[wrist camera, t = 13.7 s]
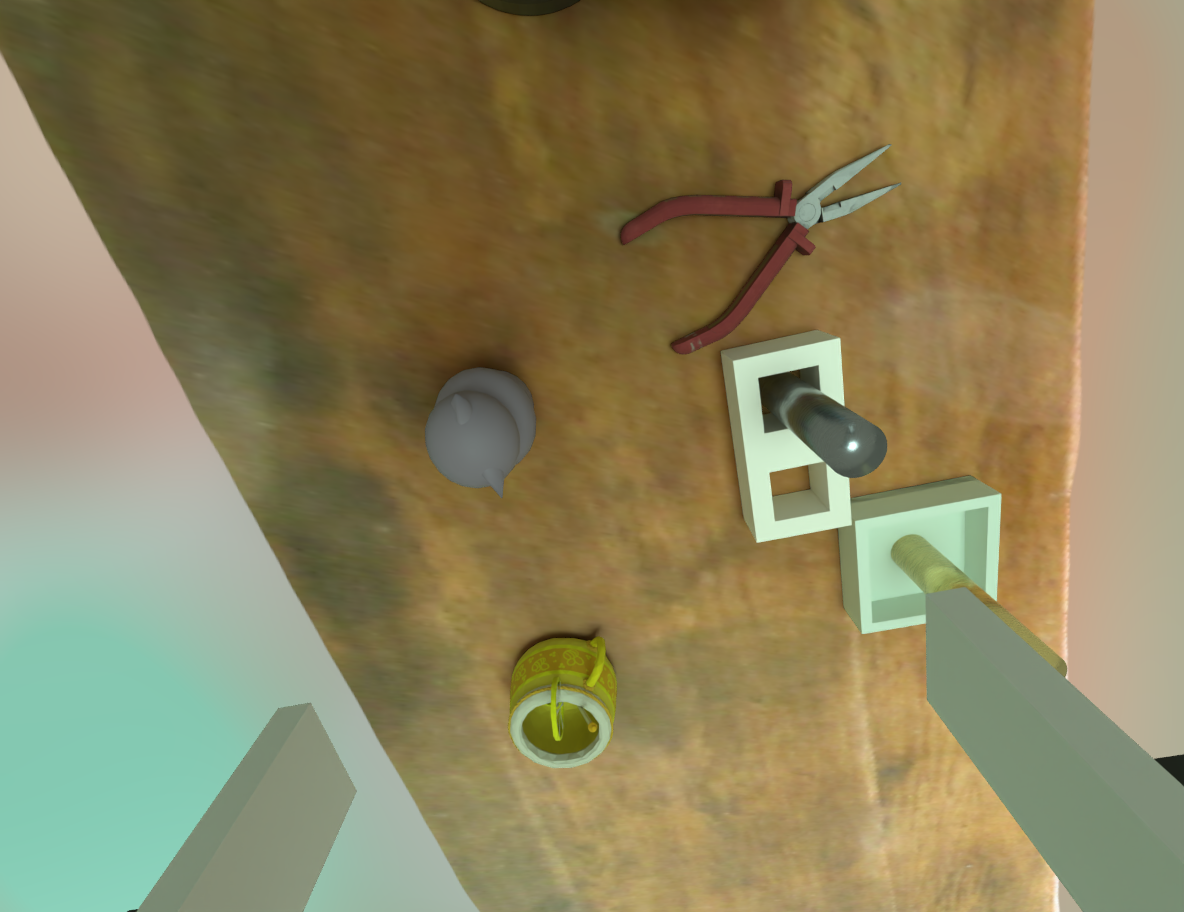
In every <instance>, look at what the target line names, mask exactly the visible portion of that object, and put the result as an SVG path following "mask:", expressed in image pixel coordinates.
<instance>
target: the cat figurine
mask: <svg viewBox="0 0 1184 912" xmlns="http://www.w3.org/2000/svg"><path fill="white" fill-rule="evenodd" d="M533 408H534V403H533V399H532V395H531V393H530V391H529V389H528V388H527V386H526V385H525V383H524V382H522V381H521V380H520V379H519V378H518V377H517V376H515V375H513V374H510V373H508V372H506V371H499V370H496V369H489V368H482V367H478V368H473V369H467V370H463V371H461V372H460V373H458V374H456V375H455V376H453V377H452V378H450V379H449V380H448V381H447V383H446V384H445V385H444V386H443V388H442V389H441V390H440V392H439V394H438V398H437V401H436V404H435V407H434V409H433V410H432V412H431V413H430V415H429V418H428V421H427V424H426V428H425V440H426V447H427V450H428V453H429V456H430V459H431V460H432V462H433V463H434V465H435V466H436V468H437V469H438V470H439V472H440V473H442V474H443V475H444V476H445V477H447V478H448V479H449V480H450V481H452V482H455V483H457V484H459V485H461V486H465V487H472V488H482V487H487V486H492V488H493V489H494V490H495V491H496V492H497V493H498V495H499V496H500V497H501V498H502V495H503V484H504V478H505V477H506V476H507V475H508V474H509V472H510V471H511V470H512V469H513V468H514V466H515V465H516V464H518V463H519V462H520V461H521V460H522V459H523V458H524V457H525V455H526V454H527V453H528V452H529V451H530V449H531V446H532V443H533V441H534V438H535V433H536V416H535V412H534V409H533Z"/></svg>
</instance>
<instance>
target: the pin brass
mask: <svg viewBox="0 0 1184 912" xmlns="http://www.w3.org/2000/svg"><path fill="white" fill-rule="evenodd" d="M891 558H892V560H893V561H894V562H895V563H896V564H897V565H898V566H899V567H900V568H901V569H902V570H903V571H904V573H905V574H906V575H907V576H908V577H909V578H910V579H911V580H912V581H913V582H914V583H915V584H916V585H917V586H918V587H919V588H920V589H921V590H922V591H923V592H924V593H925V594H928V593H934V592H940V591H945V590H951V589H957V588H962V587H966V588H967V589H968V590H969V591H970V592H971V593H973V594H974V595H975V596H976V597H977V598H978V599H979V600H980V601H981V602H982V603H983V604H985V605H986V606H987V607H988V608H989V609H990V610H991V611H992V612H993V613H994V614H996V615H997V616H998V617H999V618H1000V619H1001V620H1002V621H1003V622H1004V623H1005V624H1006V625H1008V626H1009V627H1010V628H1011V629H1012V630H1013V631H1014V632H1015V633H1016V634H1017V635H1019V636H1020V637H1021V638H1022V639H1023V640H1024V641H1025V642H1026V643H1027V644H1028V645H1029V646H1031V647H1032V648H1033V649H1034V650H1035V651H1036V652H1037V653H1038V654H1039V655H1040V656H1042V657H1043V658H1044V659H1045V660H1046V661H1047V662H1048V663H1049V664H1050V665H1051V666H1052V667H1054V668H1055V669H1056V670H1057V671H1058V672H1059V673H1060V674H1061V675H1062V676H1063V677H1065V676H1066V673H1067V666H1066V663H1065V661H1064V660H1063V659H1062V658H1060V657H1059V656H1058V655H1057V654H1056V653H1055V652H1054V651H1052V650H1051V649H1050V648H1049V647H1048V646H1047V645H1046V644H1044V643H1043V642H1042V641H1041V640H1040V639H1039V638H1038V637H1036V636H1035V635H1034V634H1033V633H1032V632H1031V631H1030V630H1029V629H1027V628H1026V627H1025V626H1024V625H1023V624H1022V623H1021V622H1019V621H1018V620H1017V619H1016V618H1015V617H1014V616H1013V615H1011V614H1010V613H1009V612H1008V611H1007V610H1006V609H1005V608H1003V607H1002V606H1001V605H1000V604H999V603H998V602H997V601H995V600H994V599H993V598H992V597H991V596H990V595H989V594H987V593H986V592H985V591H984V590H983V589H982V588H981V587H979V586H978V585H977V584H976V583H975V582H974V581H973V580H971V579H970V578H969V577H968V576H967V575H966V574H965V573H963V572H962V571H961V570H960V569H959V568H958V567H957V566H955V565H954V564H953V563H952V562H951V561H950V560H949V559H947V558H946V557H945V556H944V555H943V554H942V553H941V552H939V551H938V550H937V549H936V548H935V547H934V546H933V545H931V544H930V543H929V542H928V541H927V540H926V539H925V538H923V537H922V536H920V535H916V534H910V535H906V536H903V537H901V538H900V539H898V540H897V541H896V542H895V543H894V545H893V546H892V549H891Z"/></svg>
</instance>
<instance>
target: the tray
mask: <svg viewBox="0 0 1184 912" xmlns="http://www.w3.org/2000/svg"><path fill="white" fill-rule="evenodd" d="M850 505H851V521H852V525H849V526H844V527H838V537H839V550H840V564H841V578H842V592H843V605H844V609H845V610H846V612H847V613H848V615H849V616H850V618H851V619H852V620H853V622H854V623H855V625H856V626H857V628H858V629H859V631H860V632H861V633H862V634H865V633H871V632H877V631H883V630H889V629H895V628H901V627H907V626H912V625H918V624H924V623H926V594H925V593H924V592H923V591H922V590H921V589H920V588H919V587H918V586H917V585H916V584H915V583H914V582H913V581H912V580H911V579H910V578H909V577H908V576H907V575H906V574H905V573H904V571H903V570H902V569H901V568H900V567H899V566H898V565H897V564H896V563H895V562H894V561H893V560H892V558H891V549H892V546H893V545H894V543H895V542H896V541H897V540H898V539H900V538H901V537H903V536H906V535H910V534H916V535H920V536H922V537H923V538H925V539H926V540H927V541H928V542H929V543H930V544H931V545H933V546H934V547H935V548H936V549H937V550H938V551H939V552H941V553H942V554H943V555H944V556H945V557H946V558H947V559H949V560H950V561H951V562H952V563H953V564H954V565H955V566H957V567H958V568H959V569H960V570H961V571H962V572H963V573H965V574H966V575H967V576H968V577H969V578H970V579H971V580H973V581H974V582H975V583H976V584H977V585H978V586H979V587H981V588H982V589H983V590H984V591H985V592H986V593H987V594H989V595H990V596H991V597H992V598H993V599H994V600H995V601H997V581H998V558H999V535H1000V513H1001V493H999V492H998V491H996V490H994V489H993V488H991V487H989V486H988V485H986V484H984V483H982V482H981V481H979V480H977V479H976V478H974V477H972V476H971V475H970V476H965V477H959V478H954V479H949V480H944V481H938V482H933V483H928V484H923V485H917V486H912V487H907V488H902V489H896V490H891V491H886V492H881V493H875V494H870V495H865V496H860V497H855V498H850Z"/></svg>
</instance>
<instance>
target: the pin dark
mask: <svg viewBox="0 0 1184 912" xmlns="http://www.w3.org/2000/svg"><path fill="white" fill-rule="evenodd" d="M758 382H759V391H760V399H761V404H762V405H763V406H764V407H766V408H767V409H768V410H769V411H770V412H771V413H772V414H773V415H774V416H775V417H776V418H777V419H778V420H780V421H781V422H782V423H783V424H784V425H785V426H786V427H787V428H788V429H789V430H790V431H791V432H793V433H794V434H795V435H796V436H797V437H798V438H799V439H800V440H801V441H802V442H803V443H804V444H806V445H807V446H808V447H809V448H810V449H811V450H812V451H813V452H814V453H815V454H816V455H817V456H818V457H820V458H821V459H822V460H823V461H824V462H825V463H826V464H827V465H828V466H829V467H830V468H831V469H833V470H834V471H835V472H836V473H837V474H839V475H841V476H844V477H848V478H857V477H862V476H865V475H867V474H869V473H871V472H872V471H874V470H875V469H876V468H877V467H878V466H879V465H880V464H881V463H882V461H883V459H884V457H885V455H886V452H887V440H886V437H885V435H884V433H883V432H882V431H881V430H880V429H879V428H878V427H877V426H875V425H873V424H872V423H870V422H869V421H867V420H865V419H864V418H862V417H861V416H859V415H857V414H856V413H854V412H853V411H851V410H849V409H848V408H846V407H845V406H843V405H841V404H840V403H838V402H837V401H835V400H833V399H832V398H830V397H829V396H827V395H825V394H824V393H822V392H821V391H819V390H817V389H816V388H814V387H813V386H811V385H809V384H808V383H806V382H805V381H803V380H801V379H800V378H798V377H797V376H795V375H793V374H792V373H790V372H789V371H788V372H783V373H779V374H774V375H769V376H764V377H760V378H758Z"/></svg>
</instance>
